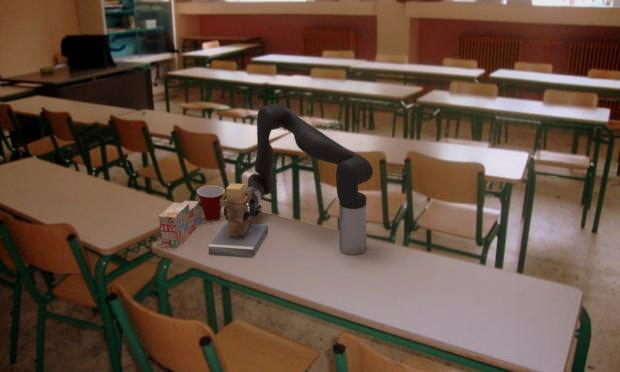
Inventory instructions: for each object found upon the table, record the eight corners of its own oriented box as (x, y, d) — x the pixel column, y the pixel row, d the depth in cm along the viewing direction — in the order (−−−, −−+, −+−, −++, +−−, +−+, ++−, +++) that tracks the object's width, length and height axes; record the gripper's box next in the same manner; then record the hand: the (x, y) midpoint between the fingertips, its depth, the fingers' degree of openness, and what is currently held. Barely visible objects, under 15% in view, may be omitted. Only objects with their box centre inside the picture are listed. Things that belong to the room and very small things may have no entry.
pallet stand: (254, 227, 204) (251, 192, 198) (247, 238, 195) (244, 202, 190) (230, 225, 205) (227, 190, 200) (222, 237, 197) (219, 200, 192)
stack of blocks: (187, 221, 220) (183, 193, 215) (201, 223, 218) (199, 194, 214) (162, 246, 200) (158, 215, 196) (178, 248, 199) (174, 216, 194)
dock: (267, 231, 209) (267, 224, 208) (253, 257, 191) (252, 249, 190) (227, 229, 212) (226, 221, 211) (209, 254, 194) (208, 246, 193)
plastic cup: (216, 225, 216) (214, 196, 211) (194, 220, 220) (191, 192, 216) (232, 214, 225) (230, 187, 220) (210, 210, 229) (207, 183, 225)
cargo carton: (245, 197, 197) (244, 184, 195) (240, 202, 193) (239, 189, 191) (231, 196, 198) (230, 183, 196) (227, 202, 194) (226, 188, 192)
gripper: (230, 189, 211) (214, 207, 195) (266, 191, 208) (254, 210, 193) (231, 207, 214) (216, 227, 198) (267, 209, 211) (255, 229, 196)
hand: (235, 218), depth 196 cm, fingers closed on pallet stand, 5 cm apart
